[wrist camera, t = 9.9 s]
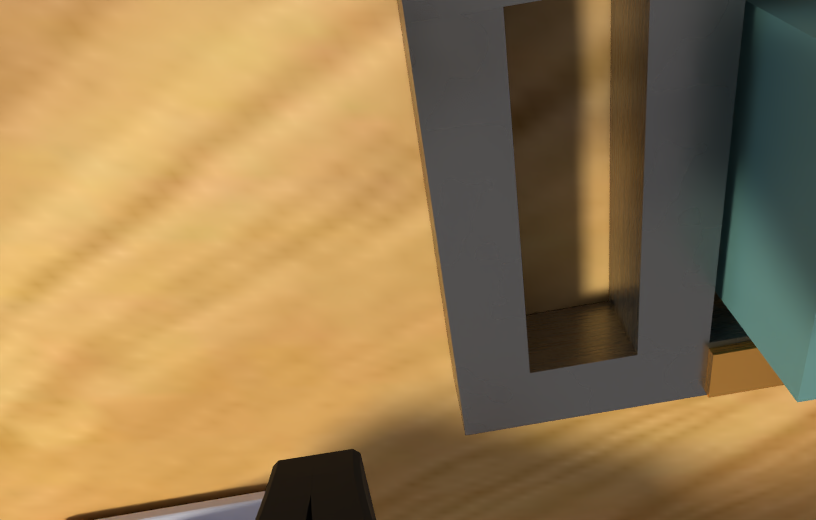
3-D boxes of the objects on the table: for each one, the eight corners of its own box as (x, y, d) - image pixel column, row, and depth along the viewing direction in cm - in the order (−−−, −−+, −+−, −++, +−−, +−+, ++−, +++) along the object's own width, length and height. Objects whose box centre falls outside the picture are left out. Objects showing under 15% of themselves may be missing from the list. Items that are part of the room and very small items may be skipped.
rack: (982, 287, 24) (1054, 343, 21) (453, 377, 24) (467, 443, 21) (1169, -240, 16) (1314, -242, 13) (381, -102, 16) (390, -81, 14)
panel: (758, 248, 22) (883, 387, 17) (691, 259, 22) (797, 402, 17) (797, -32, 18) (982, 46, 13) (714, -17, 18) (866, 66, 13)
